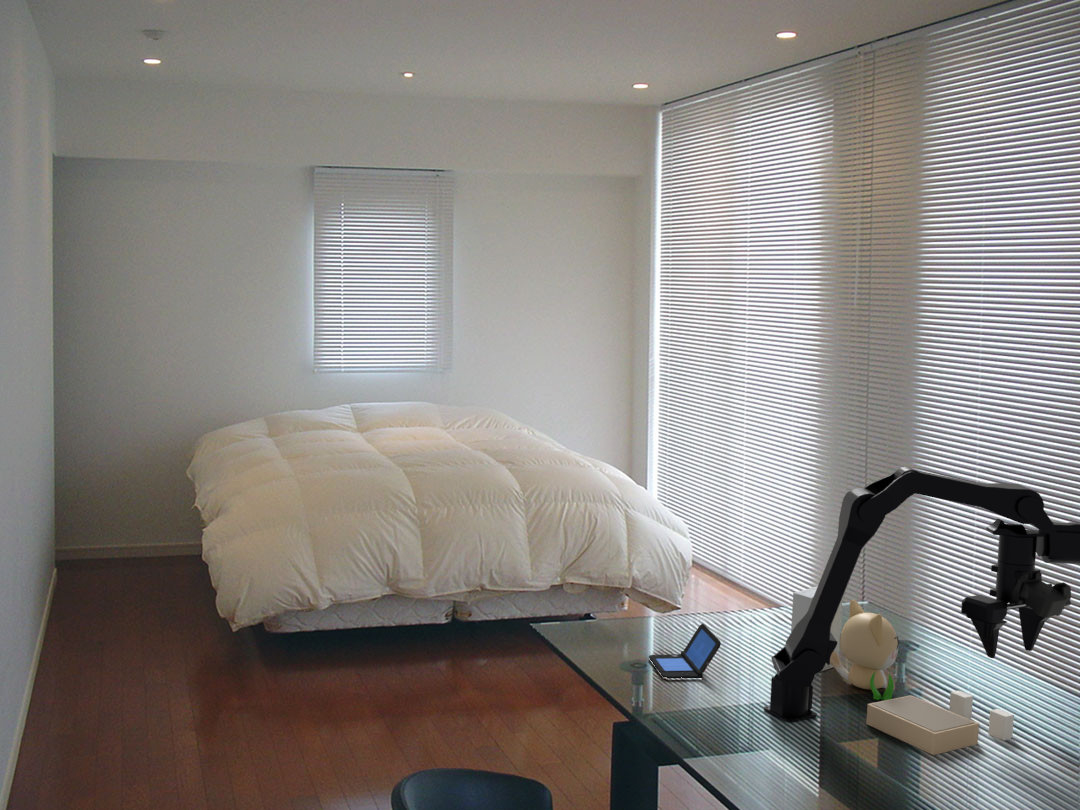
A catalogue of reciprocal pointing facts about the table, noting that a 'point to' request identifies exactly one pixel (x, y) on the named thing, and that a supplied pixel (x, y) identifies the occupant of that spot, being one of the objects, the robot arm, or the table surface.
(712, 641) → the handheld game console
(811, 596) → the skincare box
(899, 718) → the carton
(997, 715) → the white block
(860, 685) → the kitten
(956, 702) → the flap far
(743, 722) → the table surface
